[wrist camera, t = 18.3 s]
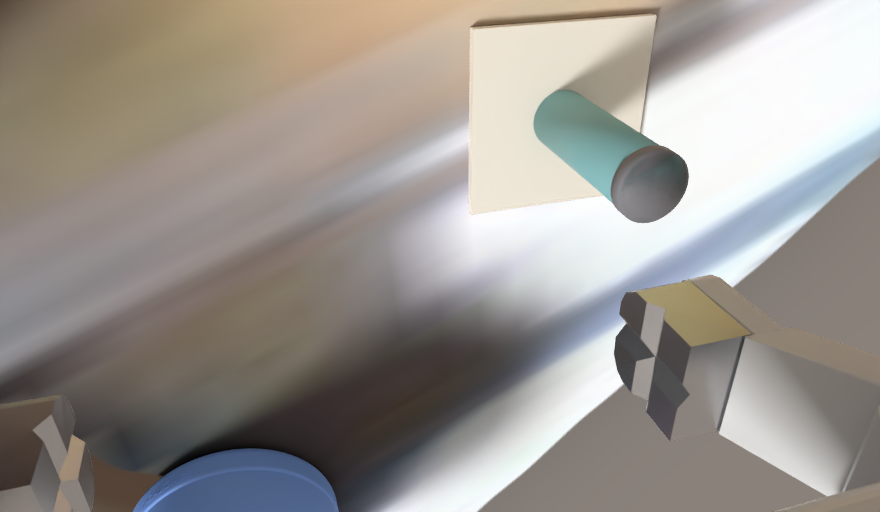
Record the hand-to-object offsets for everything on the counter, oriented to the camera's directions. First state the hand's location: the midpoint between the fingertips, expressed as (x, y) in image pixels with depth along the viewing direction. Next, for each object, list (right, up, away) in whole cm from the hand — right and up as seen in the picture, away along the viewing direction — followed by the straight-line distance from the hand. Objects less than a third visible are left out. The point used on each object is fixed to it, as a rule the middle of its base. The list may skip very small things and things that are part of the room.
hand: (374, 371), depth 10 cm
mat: (+9, +11, +34) cm, 37 cm away
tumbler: (+9, +11, +34) cm, 36 cm away
